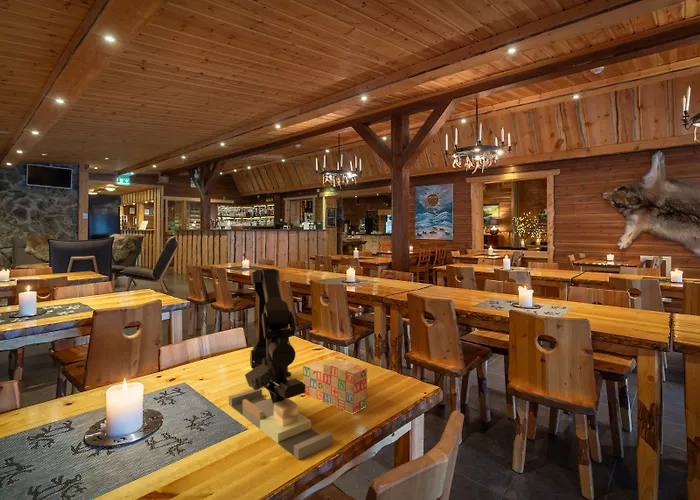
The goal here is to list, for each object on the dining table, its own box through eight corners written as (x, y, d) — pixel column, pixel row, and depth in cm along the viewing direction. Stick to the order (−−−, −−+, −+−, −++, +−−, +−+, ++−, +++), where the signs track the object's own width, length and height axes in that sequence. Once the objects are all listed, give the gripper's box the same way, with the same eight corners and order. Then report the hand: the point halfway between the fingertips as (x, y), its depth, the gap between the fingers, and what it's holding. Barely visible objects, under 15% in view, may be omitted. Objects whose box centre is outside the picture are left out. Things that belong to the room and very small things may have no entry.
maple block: (288, 414, 107) (288, 398, 107) (297, 420, 104) (297, 404, 104) (273, 419, 104) (273, 403, 104) (282, 426, 101) (282, 409, 101)
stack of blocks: (302, 393, 127) (302, 356, 126) (317, 388, 132) (317, 351, 131) (353, 415, 113) (353, 373, 112) (367, 407, 118) (367, 367, 117)
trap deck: (259, 395, 125) (258, 381, 125) (332, 444, 98) (332, 426, 97) (228, 404, 119) (228, 389, 119) (298, 459, 91) (298, 440, 91)
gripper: (233, 351, 108) (233, 407, 109) (268, 371, 94) (268, 434, 95) (269, 343, 115) (269, 395, 116) (306, 360, 101) (306, 420, 102)
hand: (277, 410), depth 107 cm, fingers closed
